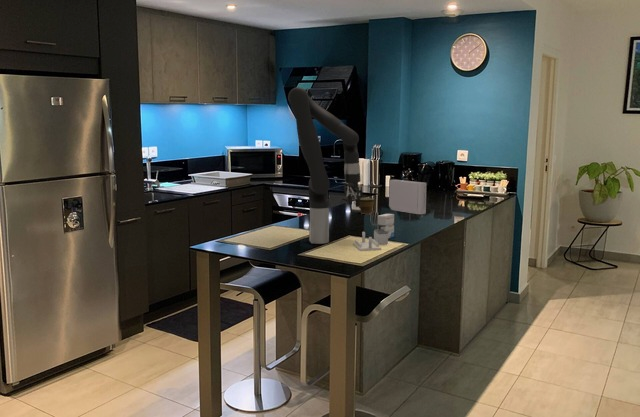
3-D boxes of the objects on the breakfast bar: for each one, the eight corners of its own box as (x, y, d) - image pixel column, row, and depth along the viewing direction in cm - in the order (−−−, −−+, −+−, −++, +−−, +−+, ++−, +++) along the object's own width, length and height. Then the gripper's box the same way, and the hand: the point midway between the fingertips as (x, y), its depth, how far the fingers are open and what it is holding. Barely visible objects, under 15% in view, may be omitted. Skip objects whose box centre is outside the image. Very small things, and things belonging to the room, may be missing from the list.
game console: (419, 214, 361) (420, 183, 358) (388, 209, 382) (389, 180, 379) (425, 213, 364) (426, 182, 361) (394, 208, 385) (395, 179, 382)
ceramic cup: (373, 212, 368) (373, 197, 367) (375, 215, 358) (375, 199, 357) (353, 213, 368) (353, 197, 366) (354, 215, 358) (354, 199, 356)
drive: (378, 245, 272) (378, 232, 271) (373, 241, 281) (374, 229, 280) (387, 244, 273) (388, 232, 272) (382, 241, 282) (382, 229, 281)
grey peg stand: (359, 250, 260) (360, 237, 259) (353, 244, 274) (353, 232, 273) (381, 249, 262) (381, 237, 261) (373, 243, 275) (373, 231, 274)
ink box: (386, 235, 295) (386, 213, 293) (394, 236, 291) (394, 214, 290) (377, 238, 288) (377, 215, 286) (385, 239, 285) (385, 216, 283)
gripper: (338, 172, 280) (340, 204, 283) (352, 174, 267) (353, 208, 270) (352, 170, 283) (354, 202, 286) (366, 172, 270) (367, 206, 273)
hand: (353, 205), depth 278 cm, fingers open, 8 cm apart
